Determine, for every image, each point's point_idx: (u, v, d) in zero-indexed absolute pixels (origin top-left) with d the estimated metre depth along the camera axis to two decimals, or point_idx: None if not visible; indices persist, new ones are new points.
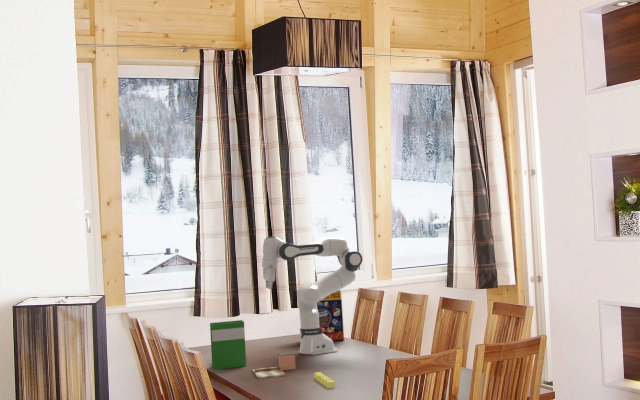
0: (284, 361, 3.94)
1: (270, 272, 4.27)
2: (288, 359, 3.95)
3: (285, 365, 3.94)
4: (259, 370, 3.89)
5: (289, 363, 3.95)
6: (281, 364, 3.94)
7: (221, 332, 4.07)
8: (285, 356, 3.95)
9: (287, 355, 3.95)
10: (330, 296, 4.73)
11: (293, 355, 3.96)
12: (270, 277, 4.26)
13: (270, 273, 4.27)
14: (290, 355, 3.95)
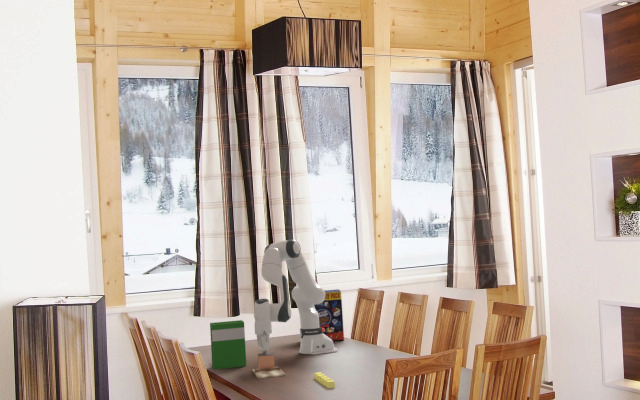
0: (263, 362, 3.92)
1: (264, 340, 3.87)
2: (267, 360, 3.92)
3: (264, 365, 3.92)
4: (259, 370, 3.89)
5: (268, 363, 3.92)
6: (260, 364, 3.91)
7: (221, 332, 4.07)
8: (264, 357, 3.92)
9: (267, 355, 3.92)
10: (330, 296, 4.73)
11: (272, 356, 3.93)
12: (264, 346, 3.87)
13: (264, 342, 3.87)
14: (269, 356, 3.92)
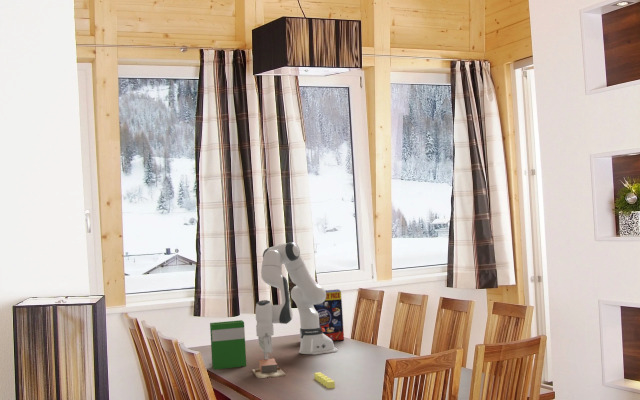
0: None
1: (266, 342, 3.83)
2: None
3: None
4: (259, 370, 3.89)
5: None
6: None
7: (221, 332, 4.07)
8: None
9: None
10: (330, 296, 4.73)
11: None
12: (267, 348, 3.82)
13: (266, 344, 3.83)
14: None
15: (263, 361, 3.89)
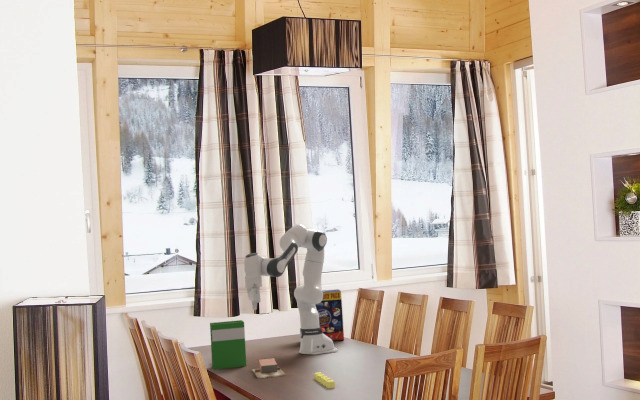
0: None
1: (254, 293, 3.94)
2: None
3: None
4: (259, 370, 3.89)
5: None
6: None
7: (221, 332, 4.07)
8: None
9: None
10: (330, 296, 4.73)
11: None
12: (255, 298, 3.94)
13: (254, 294, 3.94)
14: None
15: (263, 361, 3.89)
